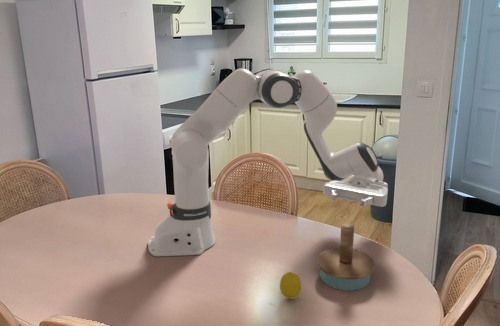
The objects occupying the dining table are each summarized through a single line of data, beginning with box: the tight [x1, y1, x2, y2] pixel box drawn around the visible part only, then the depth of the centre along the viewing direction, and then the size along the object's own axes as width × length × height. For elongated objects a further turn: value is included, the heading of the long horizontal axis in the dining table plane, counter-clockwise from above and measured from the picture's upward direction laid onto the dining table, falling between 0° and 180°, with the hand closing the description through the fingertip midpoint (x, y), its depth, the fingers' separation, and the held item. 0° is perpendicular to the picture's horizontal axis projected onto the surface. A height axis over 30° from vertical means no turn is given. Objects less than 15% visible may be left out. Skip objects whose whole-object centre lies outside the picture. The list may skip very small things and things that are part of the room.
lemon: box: [279, 271, 302, 300], centre depth 116 cm, size 6×6×8 cm
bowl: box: [319, 268, 372, 292], centre depth 127 cm, size 14×14×4 cm
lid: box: [316, 222, 375, 279], centre depth 124 cm, size 16×16×12 cm
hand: (347, 200), depth 134 cm, fingers open, 8 cm apart
